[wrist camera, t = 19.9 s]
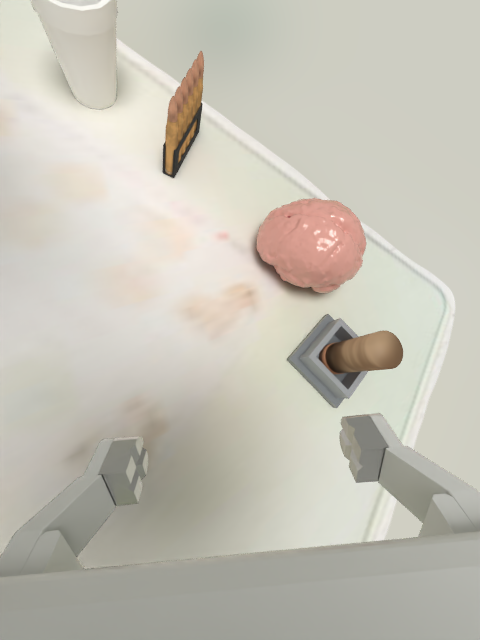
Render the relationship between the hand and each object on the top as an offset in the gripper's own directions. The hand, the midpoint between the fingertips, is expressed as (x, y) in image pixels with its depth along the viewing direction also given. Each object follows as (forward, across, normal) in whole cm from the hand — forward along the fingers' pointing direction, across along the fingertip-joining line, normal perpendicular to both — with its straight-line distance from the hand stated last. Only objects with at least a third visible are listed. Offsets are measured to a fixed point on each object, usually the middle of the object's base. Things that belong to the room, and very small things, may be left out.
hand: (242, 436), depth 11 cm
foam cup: (+48, +19, -23) cm, 56 cm away
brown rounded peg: (+27, -14, +16) cm, 34 cm away
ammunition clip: (+45, +6, -14) cm, 48 cm away
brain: (+38, -10, +3) cm, 39 cm away
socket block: (+28, -14, +16) cm, 35 cm away
